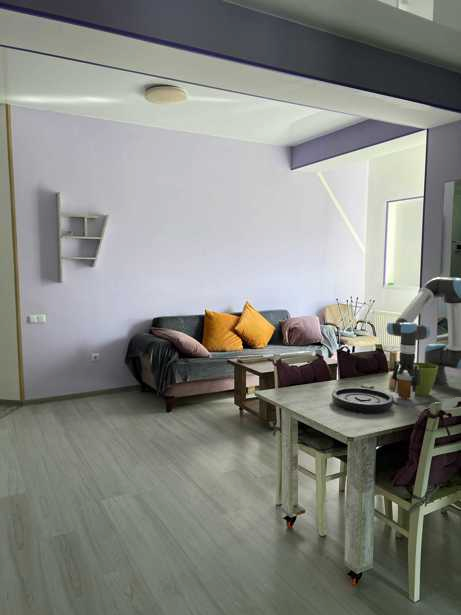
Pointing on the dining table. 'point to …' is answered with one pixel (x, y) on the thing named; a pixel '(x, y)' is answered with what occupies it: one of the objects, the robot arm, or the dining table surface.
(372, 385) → the walnut block
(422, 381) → the flower pot
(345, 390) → the round tray
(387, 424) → the dining table surface
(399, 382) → the disposable coffee cup
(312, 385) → the dining table surface
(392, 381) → the light brown egg
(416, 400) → the slate board
